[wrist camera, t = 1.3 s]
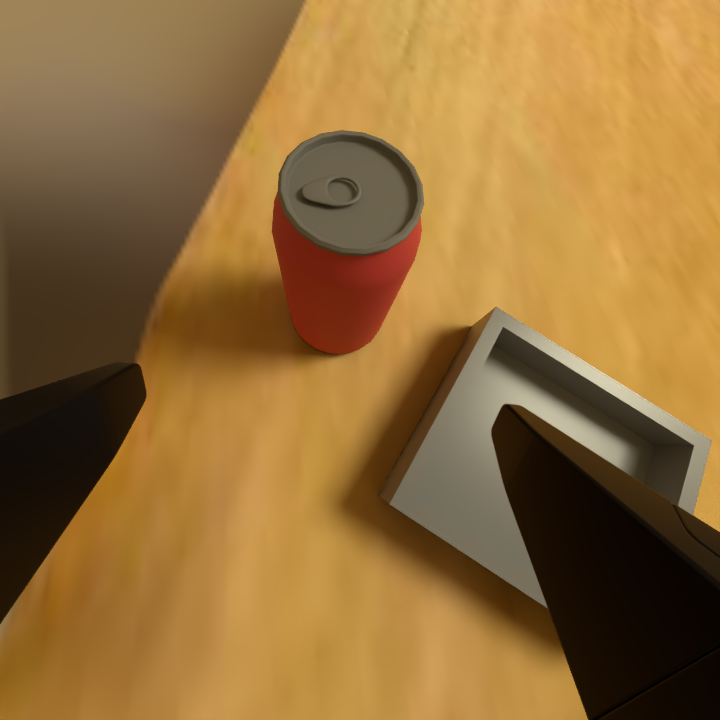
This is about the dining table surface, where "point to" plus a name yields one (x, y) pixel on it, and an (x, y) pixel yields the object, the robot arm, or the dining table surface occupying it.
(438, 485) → the tray
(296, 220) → the beer can
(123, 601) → the dining table surface
